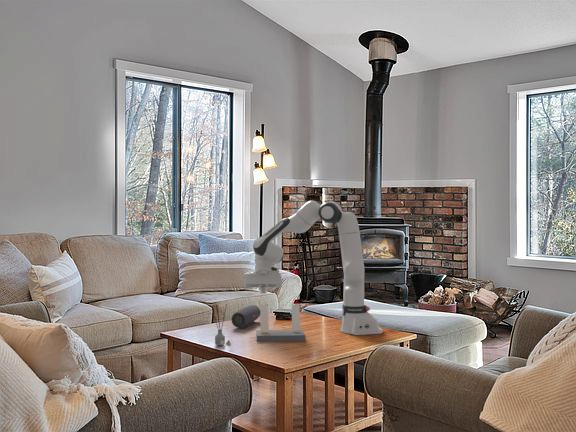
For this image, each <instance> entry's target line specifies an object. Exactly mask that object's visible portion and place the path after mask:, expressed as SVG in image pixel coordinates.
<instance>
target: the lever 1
mask: <svg viewBox="0 0 576 432" xmlns="http://www.w3.org/2000/svg"><path fill="white" fill-rule="evenodd" d="M259 309H260V330H261V332H268V331H269V330H270V329H269V324H270V323H269V321H270V319H269V317H270V316H269V303H261V304H260V307H259Z"/></svg>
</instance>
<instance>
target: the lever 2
mask: <svg viewBox="0 0 576 432" xmlns="http://www.w3.org/2000/svg"><path fill="white" fill-rule="evenodd" d="M300 305H301V304H300V303H291V330H292V331H300V330H301V311H300Z"/></svg>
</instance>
